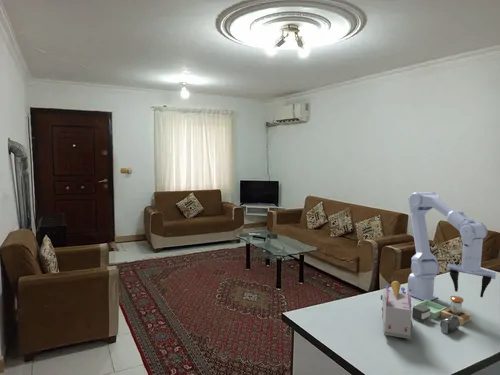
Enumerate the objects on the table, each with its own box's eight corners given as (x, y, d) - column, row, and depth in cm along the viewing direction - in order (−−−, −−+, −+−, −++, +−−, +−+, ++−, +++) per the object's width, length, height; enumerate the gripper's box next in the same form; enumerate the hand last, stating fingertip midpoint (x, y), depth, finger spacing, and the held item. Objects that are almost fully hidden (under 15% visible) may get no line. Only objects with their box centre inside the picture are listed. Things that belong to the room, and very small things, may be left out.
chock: (412, 317, 124) (412, 307, 123) (419, 314, 126) (419, 304, 126) (422, 322, 120) (423, 311, 120) (429, 319, 123) (430, 308, 123)
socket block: (440, 317, 124) (441, 311, 124) (450, 312, 128) (450, 306, 128) (461, 325, 118) (461, 319, 118) (470, 319, 122) (471, 314, 122)
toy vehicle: (406, 317, 124) (408, 277, 122) (413, 345, 105) (415, 299, 104) (379, 313, 127) (381, 274, 125) (381, 340, 108) (383, 294, 107)
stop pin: (447, 317, 124) (448, 297, 123) (452, 315, 126) (453, 295, 125) (458, 322, 121) (460, 301, 120) (464, 319, 123) (465, 298, 122)
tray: (413, 310, 129) (413, 305, 129) (426, 305, 134) (426, 299, 134) (434, 319, 123) (434, 313, 123) (447, 312, 128) (447, 307, 128)
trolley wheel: (438, 330, 115) (438, 319, 114) (448, 324, 119) (449, 313, 118) (450, 335, 111) (451, 324, 111) (461, 329, 115) (461, 318, 115)
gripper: (446, 255, 121) (443, 291, 123) (496, 263, 113) (492, 302, 114) (449, 250, 127) (447, 285, 128) (497, 258, 118) (494, 296, 119)
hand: (468, 293), depth 121 cm, fingers open, 7 cm apart
